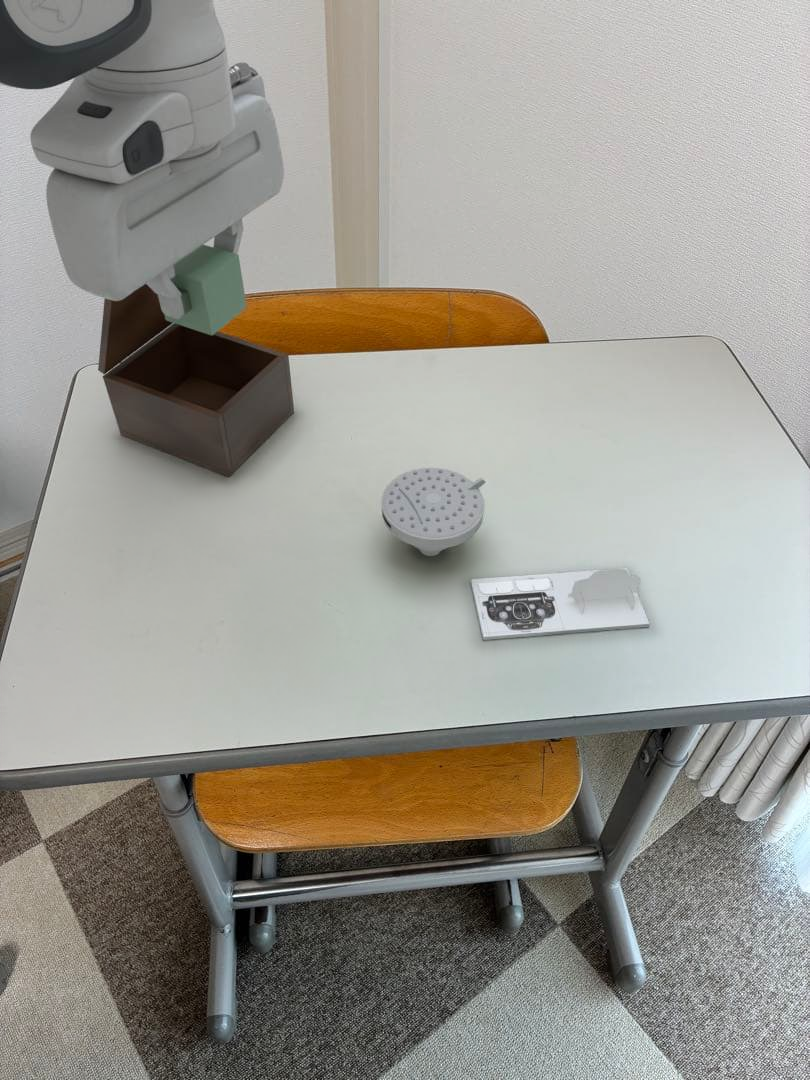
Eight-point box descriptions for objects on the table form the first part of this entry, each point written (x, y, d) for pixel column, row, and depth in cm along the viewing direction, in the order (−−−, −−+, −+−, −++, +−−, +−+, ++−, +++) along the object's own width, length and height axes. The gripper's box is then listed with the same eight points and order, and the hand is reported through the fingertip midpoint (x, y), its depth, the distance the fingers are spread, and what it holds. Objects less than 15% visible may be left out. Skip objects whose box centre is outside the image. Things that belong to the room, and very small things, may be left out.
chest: (294, 412, 91) (288, 354, 85) (229, 477, 83) (217, 418, 78) (191, 376, 96) (179, 318, 90) (120, 435, 88) (102, 376, 82)
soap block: (212, 336, 60) (201, 281, 57) (165, 320, 62) (152, 266, 58) (247, 307, 63) (238, 254, 60) (201, 293, 64) (190, 240, 61)
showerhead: (510, 510, 71) (408, 544, 68) (501, 564, 76) (406, 597, 73) (461, 447, 76) (365, 475, 73) (456, 501, 82) (366, 529, 79)
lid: (203, 203, 77) (161, 173, 77) (115, 259, 70) (68, 224, 70) (181, 317, 90) (144, 290, 90) (104, 374, 82) (63, 345, 82)
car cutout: (626, 570, 76) (637, 538, 72) (648, 626, 71) (661, 594, 68) (470, 582, 74) (474, 549, 71) (482, 640, 70) (487, 608, 66)
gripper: (221, 47, 58) (247, 230, 68) (6, 145, 46) (77, 349, 56) (294, 61, 56) (310, 247, 66) (89, 167, 44) (147, 375, 54)
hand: (202, 295), depth 61 cm, fingers closed on soap block, 4 cm apart
